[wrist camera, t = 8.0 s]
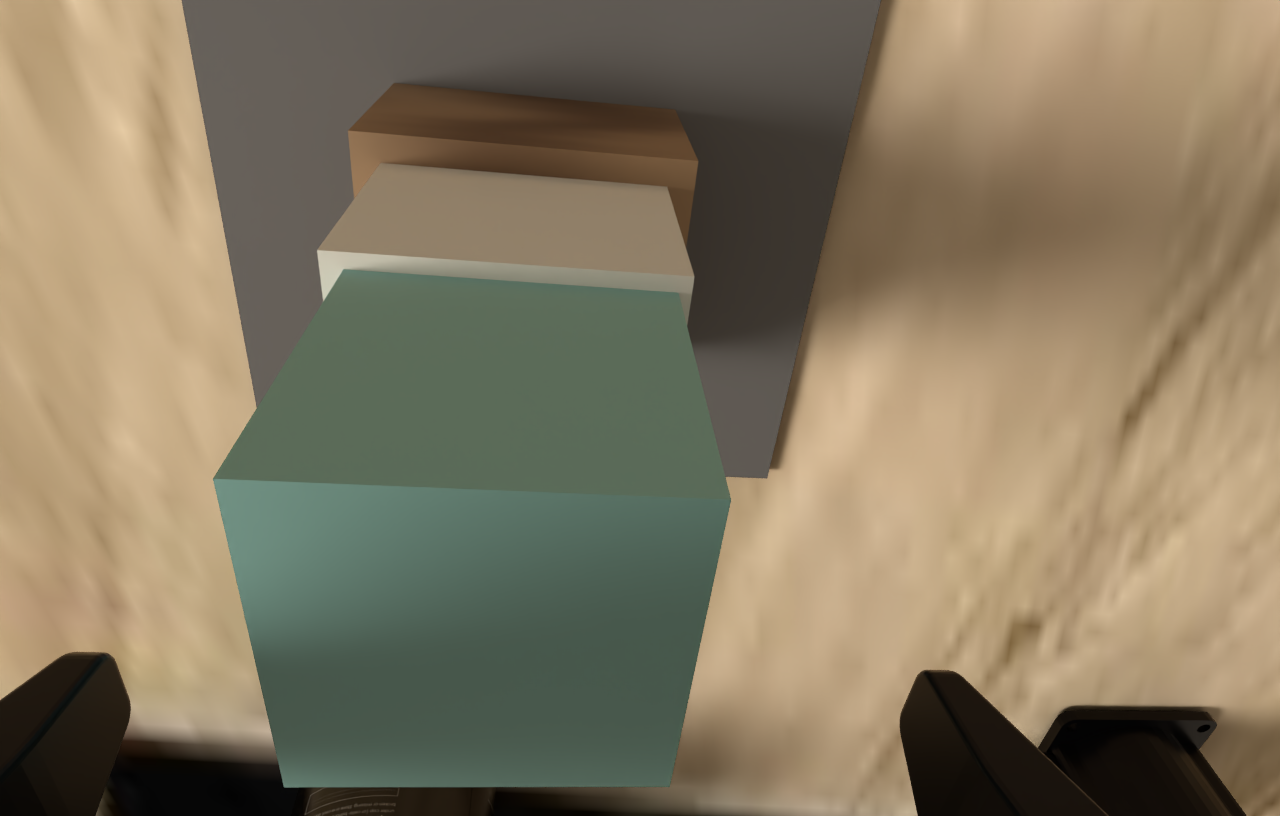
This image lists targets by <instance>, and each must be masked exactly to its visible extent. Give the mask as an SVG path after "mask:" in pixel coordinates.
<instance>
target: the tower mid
mask: <svg viewBox="0 0 1280 816" xmlns="http://www.w3.org/2000/svg"><path fill="white" fill-rule="evenodd" d="M317 254H318V263H319V271H320V279H321V287H322V296H323V301H324V300H325V298H326V296H327V295H328V293H329V292H330V290H331V288H332V287H333V285H334V284H335V282H336V280H337V279H338V277H339V276H340V274H341V272H342V271H343V269H347V270H361V271H375V272H390V273H404V274H418V275H433V276H447V277H461V278H476V279H490V280H505V281H519V282H533V283H548V284H562V285H576V286H591V287H605V288H619V289H634V290H648V291H662V292H677V293H679V296H680V300H681V304H682V308H683V312H684V316H685V320H686V324H688V317H689V310H690V304H691V297H692V290H693V284H694V277H695V276H694V273H693V270H692V267H691V263H690V260H689V257H688V254H687V250H686V247H685V244H684V240H683V237H682V234H681V231H680V227H679V224H678V221H677V218H676V214H675V211H674V208H673V204H672V201H671V198H670V195H669V191H668V188H667V187H665V186H653V185H641V184H629V183H617V182H605V181H593V180H581V179H569V178H557V177H545V176H532V175H520V174H508V173H496V172H484V171H472V170H460V169H448V168H436V167H424V166H412V165H400V164H388V163H380V164H379V166H378V167H377V168H376V170H375V171H374V173H373V174H372V175H371V177H370V178H369V179H368V181H367V182H366V184H365V185H364V186H363V188H362V189H361V190H360V192H359V193H358V195H357V196H356V197H355V199H354V200H353V201H352V203H351V204H350V205H349V207H348V208H347V210H346V211H345V212H344V214H343V215H342V216H341V218H340V219H339V221H338V222H337V223H336V225H335V226H334V227H333V229H332V230H331V232H330V233H329V234H328V236H327V237H326V238H325V240H324V241H323V242H322V244H321V245H320V247H319V248H318V249H317Z"/></svg>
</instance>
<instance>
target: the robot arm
mask: <svg viewBox="0 0 1280 816" xmlns="http://www.w3.org/2000/svg"><path fill="white" fill-rule="evenodd" d="M130 711H131V706H130V699H129V696H128V694H127V691H126V688H125V686H124V683H123V680H122V677H121V675H120V672H119V669H118V666H117V664H116V661H115V659H114V658H113V657H112V656H111V655H109V654H108V653H102V652H72V653H68V654H65V655H63V656H61V657H59V658H58V659H56V660H55V661H53V662H52V663H51V664H49V665H48V666H47V667H45V668H44V669H42V670H41V671H40V672H38V673H37V674H36V675H34V676H33V677H31V678H30V679H29V680H27V681H26V682H25V683H23V684H22V685H20V686H19V687H18V688H16V689H15V690H14V691H12V692H11V693H9V694H8V695H7V696H5V697H4V698H2V699H1V700H0V816H95V815H96V812H97V809H98V807H99V804H100V801H101V798H102V795H103V793H104V790H105V787H106V784H107V782H108V779H109V776H110V773H111V770H112V768H113V765H114V762H115V759H116V756H117V754H118V751H119V748H120V745H121V742H122V740H123V737H124V734H125V731H126V729H127V726H128V722H129V718H130ZM1216 726H1217V724H1216V722H1215V721H1214V719H1213V718H1212V717H1211V715H1210V714H1209V713H1207V712H1182V711H1075V710H1073V711H1067V712H1064V713H1062V714H1060V715H1059V716H1058V717H1057V718H1056V719H1055V721H1054V723H1053V724H1052V726H1051V728H1050V729H1049V731H1048V733H1047V734H1046V736H1045V737H1044V739H1043V741H1042V742H1041V744H1040V746H1039V747H1038V748H1037V747H1036V746H1035V745H1034V744H1033V743H1032V742H1031V741H1030V740H1028V739H1027V738H1026V737H1025V736H1024V735H1023V734H1022V733H1021V732H1020V731H1019V730H1018V729H1017V728H1016V727H1015V726H1014V725H1013V724H1012V723H1011V722H1010V721H1008V720H1007V719H1006V718H1005V717H1004V716H1003V715H1002V714H1001V713H1000V712H999V711H998V710H997V709H996V708H995V707H994V706H993V705H992V704H991V703H990V702H989V701H987V700H986V699H985V698H984V697H983V696H982V695H981V694H980V693H979V692H978V691H977V690H976V689H975V688H974V687H973V686H972V685H971V684H970V683H969V682H967V681H966V680H965V679H964V678H963V677H962V676H961V675H959V674H958V673H956V672H954V671H949V670H923V671H922V672H921V673H919V674H918V675H917V677H916V679H915V681H914V684H913V686H912V688H911V691H910V693H909V695H908V698H907V700H906V702H905V704H904V707H903V709H902V712H901V715H900V733H901V739H902V743H903V748H904V753H905V757H906V762H907V767H908V772H909V776H910V781H911V786H912V790H913V795H914V800H915V805H916V809H917V814H918V816H1246V814H1245V813H1244V812H1243V810H1242V809H1241V807H1240V806H1239V805H1238V803H1237V802H1236V800H1235V799H1234V798H1233V796H1232V795H1231V794H1230V792H1229V791H1228V789H1227V788H1226V787H1225V785H1224V784H1223V783H1222V781H1221V780H1220V778H1219V777H1218V776H1217V774H1216V773H1215V772H1214V770H1213V769H1212V767H1211V766H1210V765H1209V763H1208V762H1207V760H1206V759H1205V758H1204V756H1203V755H1202V754H1201V752H1200V751H1199V749H1200V747H1201V746H1202V745H1203V744H1204V742H1205V741H1206V740H1207V739H1208V737H1209V736H1210V735H1211V733H1212V732H1213V731H1214V730H1215V728H1216Z"/></svg>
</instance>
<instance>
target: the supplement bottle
mask: <svg viewBox="0 0 1280 816" xmlns="http://www.w3.org/2000/svg"><path fill="white" fill-rule="evenodd" d="M495 796H496V787H299V790H298V793H297V797H296V800H295V803H294V807H293V810H292V814H291V816H494V809H495Z"/></svg>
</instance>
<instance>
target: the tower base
mask: <svg viewBox="0 0 1280 816" xmlns="http://www.w3.org/2000/svg"><path fill="white" fill-rule="evenodd" d="M348 137H349V148H350V159H351V170H352V181H353V192H354V199H355V197H356V196H357V195H358V193H359V192H360V190H361V189H362V188H363V186H364V185H365V184H366V182H367V181H368V179H369V178H370V177H371V175H372V174H373V173H374V171H375V170H376V168H377V167H378V166H379V164H380V163H388V164H400V165H412V166H424V167H436V168H448V169H460V170H472V171H484V172H496V173H508V174H520V175H532V176H545V177H557V178H569V179H581V180H593V181H605V182H617V183H629V184H641V185H653V186H665V187H667V188H668V191H669V195H670V198H671V201H672V204H673V208H674V211H675V214H676V218H677V221H678V224H679V227H680V231H681V234H682V237H683V240H684V244H685V247H686V245H687V238H688V231H689V224H690V217H691V210H692V203H693V196H694V189H695V182H696V175H697V168H698V159H697V157H696V155H695V152H694V150H693V148H692V146H691V144H690V141H689V139H688V137H687V135H686V132H685V130H684V128H683V126H682V124H681V121H680V119H679V117H678V115H677V113H676V110H675V109H664V108H654V107H643V106H632V105H622V104H611V103H600V102H590V101H579V100H568V99H558V98H547V97H536V96H526V95H515V94H505V93H494V92H483V91H473V90H462V89H451V88H441V87H430V86H419V85H409V84H398V83H393V84H392V85H391V87H390V88H389V89H388V90H387V91H386V92H385V93H384V94H383V95H382V96H381V97H380V98H379V99H378V100H377V101H376V102H375V103H374V104H373V105H372V106H371V107H370V108H369V109H368V110H367V111H366V112H365V113H364V114H363V115H362V117H361V118H360V119H359V120H358V121H357V122H356V123H355V124H354V125H353V126H352V127H351V128H350V129H349V130H348Z"/></svg>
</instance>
